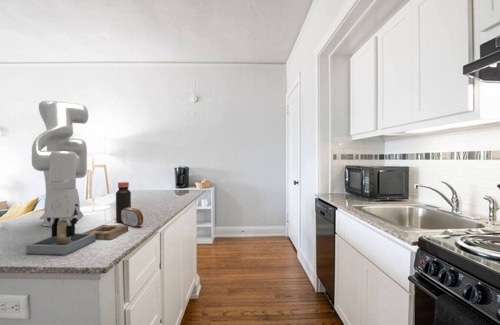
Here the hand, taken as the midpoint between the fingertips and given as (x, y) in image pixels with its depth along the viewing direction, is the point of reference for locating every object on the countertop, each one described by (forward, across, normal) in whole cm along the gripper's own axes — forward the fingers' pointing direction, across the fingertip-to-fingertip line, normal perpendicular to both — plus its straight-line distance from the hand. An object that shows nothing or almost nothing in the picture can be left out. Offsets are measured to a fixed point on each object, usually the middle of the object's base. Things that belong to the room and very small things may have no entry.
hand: (63, 235), depth 88 cm
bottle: (+5, 0, +37) cm, 37 cm away
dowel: (+4, 0, 0) cm, 4 cm away
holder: (+4, +6, +15) cm, 17 cm away
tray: (+4, 0, 0) cm, 4 cm away
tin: (+5, +8, +30) cm, 31 cm away
